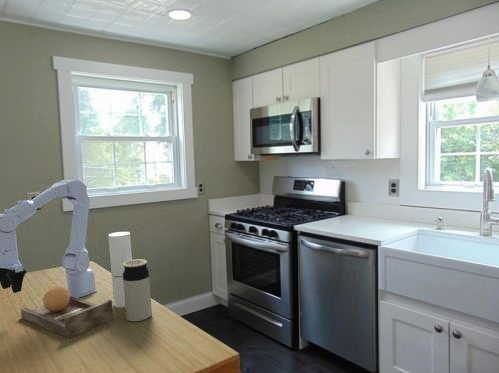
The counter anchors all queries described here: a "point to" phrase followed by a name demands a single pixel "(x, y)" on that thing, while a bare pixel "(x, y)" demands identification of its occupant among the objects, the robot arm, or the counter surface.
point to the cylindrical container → (119, 263)
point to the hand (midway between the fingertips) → (11, 289)
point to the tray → (71, 316)
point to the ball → (56, 299)
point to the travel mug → (137, 290)
